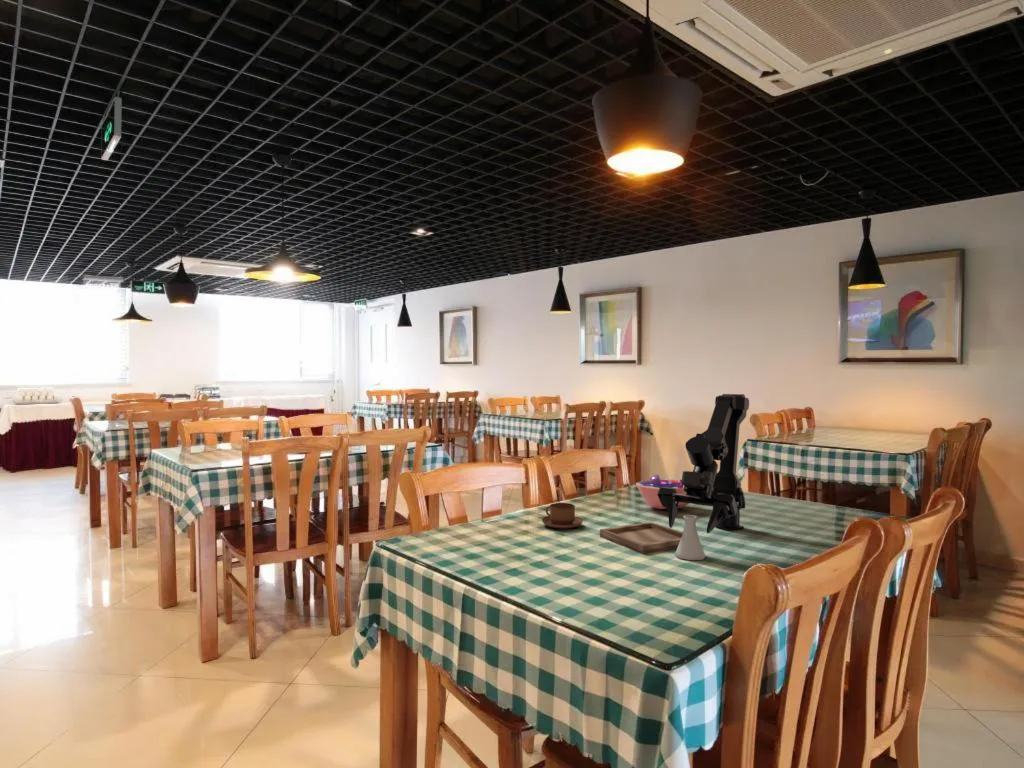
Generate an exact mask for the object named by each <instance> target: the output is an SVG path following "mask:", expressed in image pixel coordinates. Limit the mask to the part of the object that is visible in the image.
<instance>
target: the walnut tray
mask: <svg viewBox="0 0 1024 768" xmlns="http://www.w3.org/2000/svg"><path fill="white" fill-rule="evenodd" d="M682 534H683V531H680V530H677V529H674V528H670V527H667V526H664V525H662V524H658V523H656V522H653V521H649V522H648V521H647V522H643V523H642V522H641V523H635V524H627V525H621V526H613V527H608V528H601V529H599V537H600V538H602V539H604V540H606V541H610V542H612V543H615V544H617V545H620V546H623V547H625V548H627V549H629V550H631V551H634V552H637V553H639V554H642V555H644V554H651V553H655V552H662V551H668V550H674V549H677V548H678V545H679V543H680V540H681V537H682Z"/></svg>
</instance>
